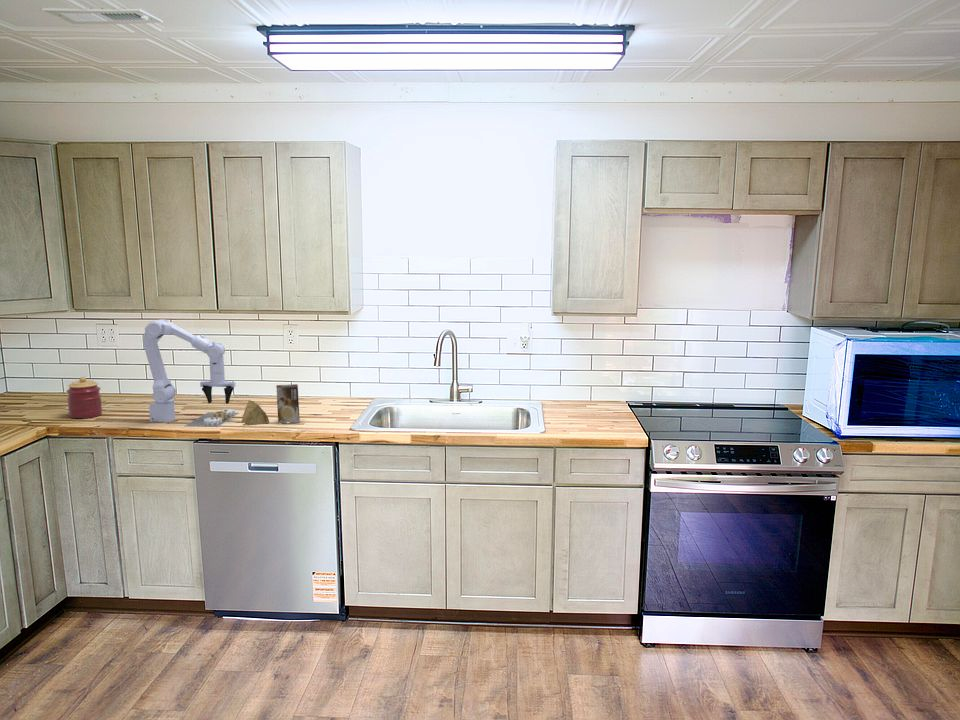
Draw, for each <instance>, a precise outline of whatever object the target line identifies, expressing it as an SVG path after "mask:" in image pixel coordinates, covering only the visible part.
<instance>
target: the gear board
mask: <svg viewBox="0 0 960 720" xmlns="http://www.w3.org/2000/svg"><path fill="white" fill-rule="evenodd" d="M217 411H218V412H220V411H223V412H226V416H227V419H226V420H224V421H222V418H220V417H213V412H214V411H211V412H207V413H206V412H205V414H203V415H202V416H200V417H198V418H196V419H194V420H193V421H191V422H189V423H187V424H186V425H185V427H191V428H193V427H196V428H197V427H201V428H203V427H204V428H218V427H220V426H222V425H223V424H225V423H226V422H228V421H229V420H231V419H232V418H234V417H235V416H237V415H239V412H236V411H235V409H232V408H229V409H228V408H225V409H220V410H217Z"/></svg>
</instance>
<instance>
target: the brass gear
mask: <svg viewBox="0 0 960 720" xmlns="http://www.w3.org/2000/svg"><path fill="white" fill-rule="evenodd" d="M218 411H220V410H217V411H212V412H213V417H220V418H222V421H224V420H226V419H227V416H226V412H223V411H220V412H218Z"/></svg>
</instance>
